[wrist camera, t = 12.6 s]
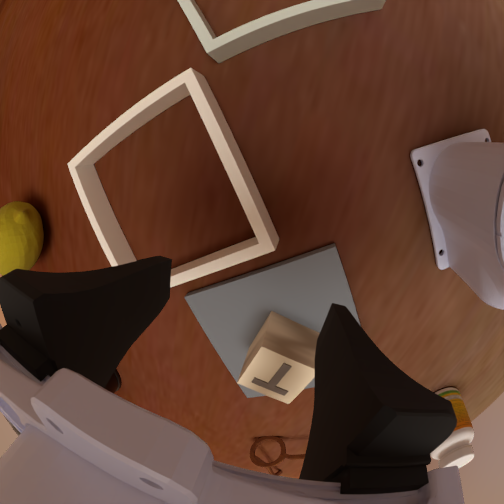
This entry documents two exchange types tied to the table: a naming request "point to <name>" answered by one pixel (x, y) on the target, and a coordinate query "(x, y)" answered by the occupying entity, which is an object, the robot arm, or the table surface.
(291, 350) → the letter cube
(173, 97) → the bin
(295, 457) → the glasses
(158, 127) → the table surface
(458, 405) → the supplement bottle
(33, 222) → the lemon
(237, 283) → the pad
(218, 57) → the bin
